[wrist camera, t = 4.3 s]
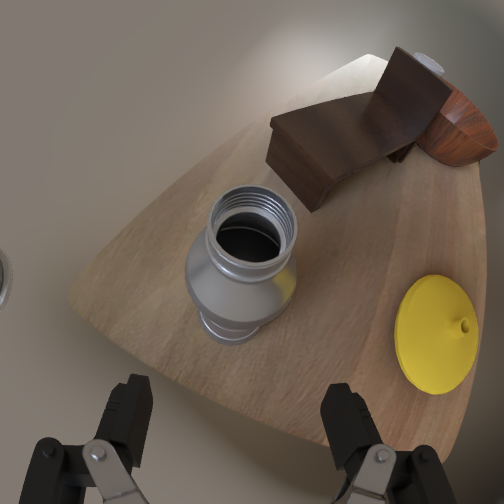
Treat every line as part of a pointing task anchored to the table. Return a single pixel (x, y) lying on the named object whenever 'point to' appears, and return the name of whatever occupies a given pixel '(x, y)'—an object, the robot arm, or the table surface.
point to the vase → (436, 334)
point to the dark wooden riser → (355, 129)
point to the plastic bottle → (243, 263)
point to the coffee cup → (430, 64)
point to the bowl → (459, 133)
